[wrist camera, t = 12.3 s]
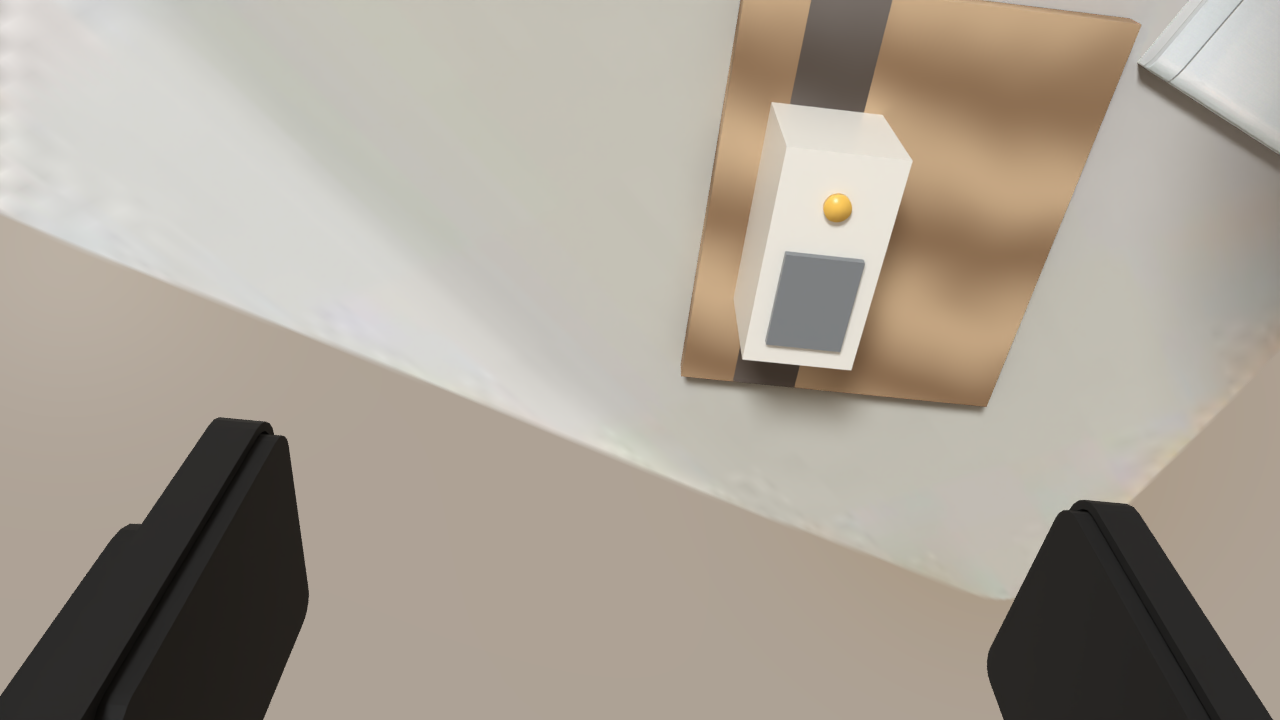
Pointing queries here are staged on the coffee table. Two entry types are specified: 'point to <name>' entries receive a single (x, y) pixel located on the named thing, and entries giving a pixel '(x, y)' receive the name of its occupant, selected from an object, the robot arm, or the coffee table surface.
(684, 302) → the coffee table surface
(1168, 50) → the hard drive
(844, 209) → the stud finder
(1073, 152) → the subfloor board
